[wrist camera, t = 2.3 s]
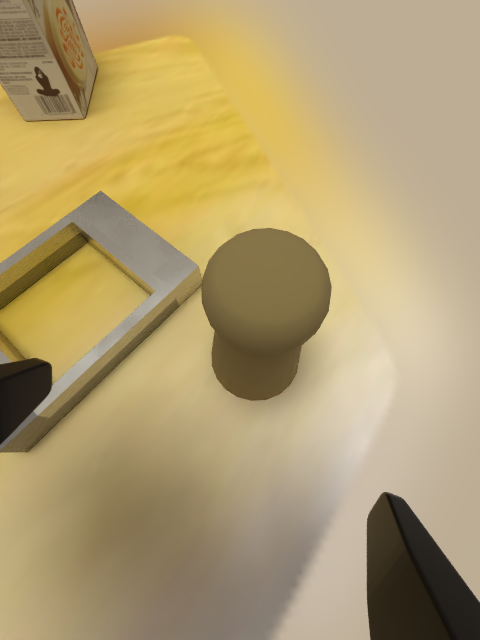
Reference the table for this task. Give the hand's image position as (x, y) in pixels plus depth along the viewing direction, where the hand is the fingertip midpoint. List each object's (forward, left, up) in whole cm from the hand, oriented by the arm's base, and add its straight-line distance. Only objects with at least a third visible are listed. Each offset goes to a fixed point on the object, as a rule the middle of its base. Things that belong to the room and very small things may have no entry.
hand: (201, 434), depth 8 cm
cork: (+6, +2, -12) cm, 14 cm away
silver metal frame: (0, +14, -12) cm, 18 cm away
